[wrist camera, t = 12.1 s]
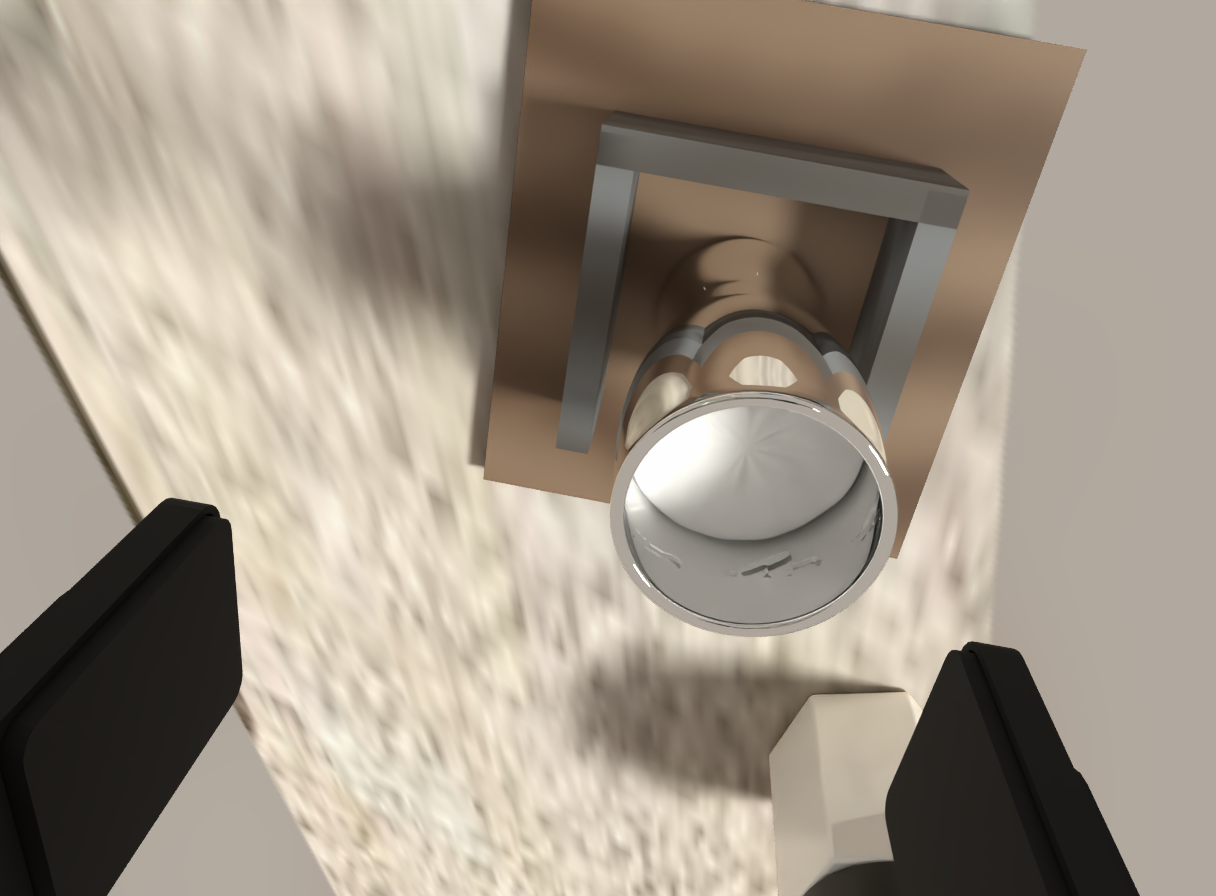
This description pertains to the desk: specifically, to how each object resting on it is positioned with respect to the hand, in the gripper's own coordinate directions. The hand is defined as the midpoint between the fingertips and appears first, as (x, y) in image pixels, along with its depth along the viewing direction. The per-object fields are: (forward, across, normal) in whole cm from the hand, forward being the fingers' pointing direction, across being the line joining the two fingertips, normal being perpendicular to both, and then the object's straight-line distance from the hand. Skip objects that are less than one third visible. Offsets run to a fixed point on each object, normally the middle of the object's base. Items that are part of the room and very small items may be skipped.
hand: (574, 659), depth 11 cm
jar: (+24, -14, +24) cm, 37 cm away
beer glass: (+24, -4, +3) cm, 24 cm away
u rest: (+24, -3, +2) cm, 25 cm away
